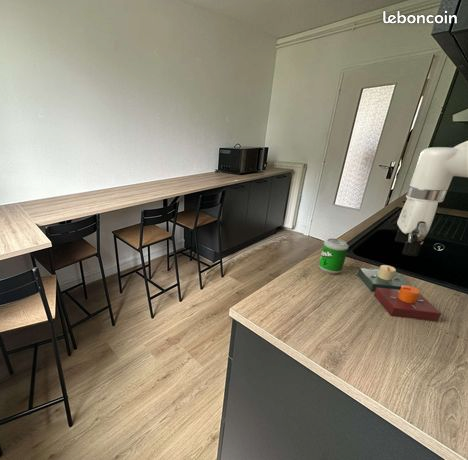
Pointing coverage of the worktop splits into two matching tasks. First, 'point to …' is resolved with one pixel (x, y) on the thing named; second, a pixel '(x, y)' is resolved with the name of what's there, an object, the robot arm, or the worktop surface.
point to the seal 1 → (386, 272)
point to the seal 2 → (408, 294)
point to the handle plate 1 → (380, 280)
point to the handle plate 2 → (406, 306)
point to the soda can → (333, 255)
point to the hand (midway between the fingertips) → (405, 248)
